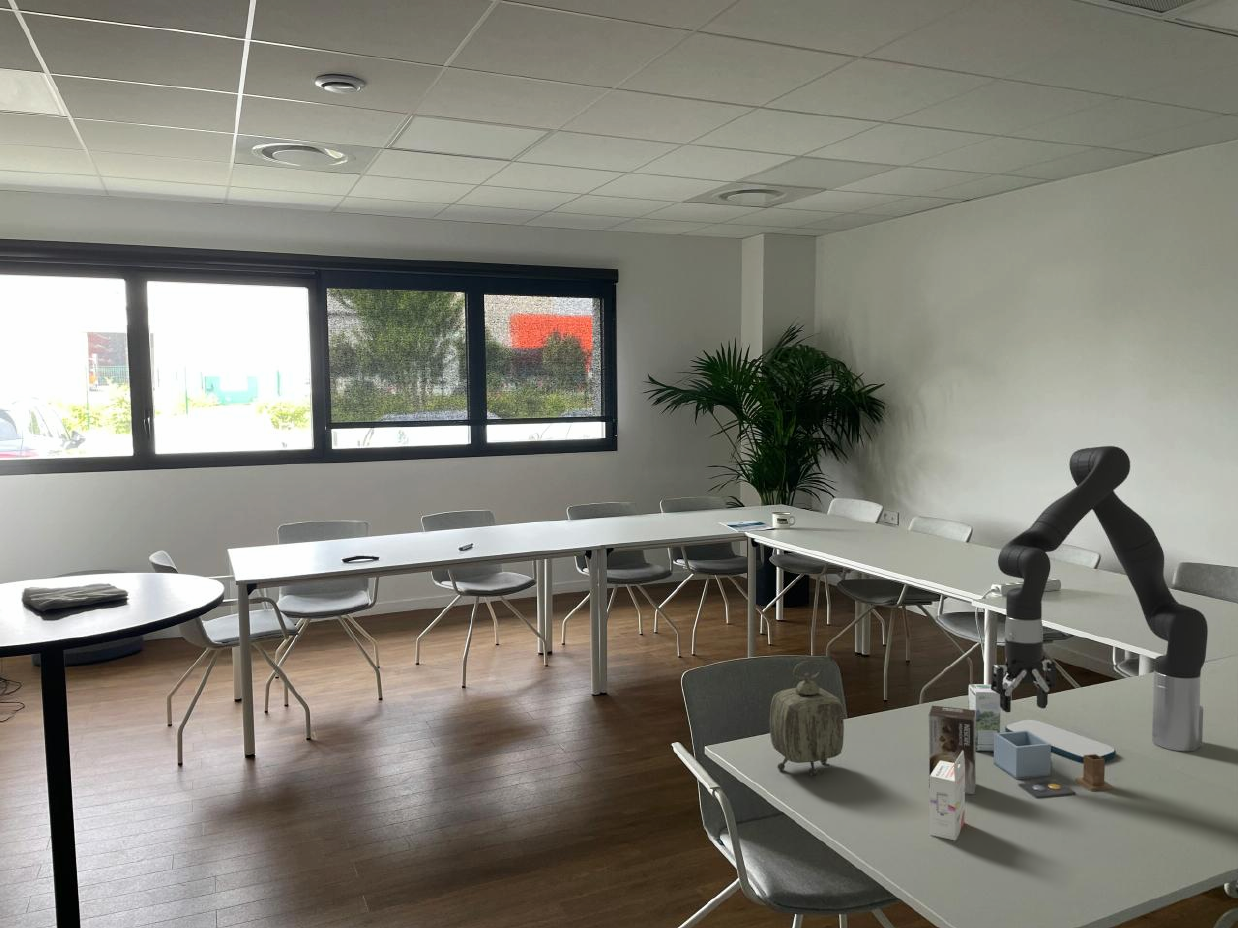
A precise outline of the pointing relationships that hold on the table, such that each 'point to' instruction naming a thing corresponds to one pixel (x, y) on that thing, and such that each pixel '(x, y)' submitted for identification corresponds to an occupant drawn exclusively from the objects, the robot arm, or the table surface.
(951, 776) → the ink cartridge box
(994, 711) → the syrup box
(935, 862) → the table surface
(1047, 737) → the white rounded slab
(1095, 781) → the brown square ball stand
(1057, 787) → the card
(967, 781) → the coffee box
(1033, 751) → the blue open box
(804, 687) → the tabletop clock
